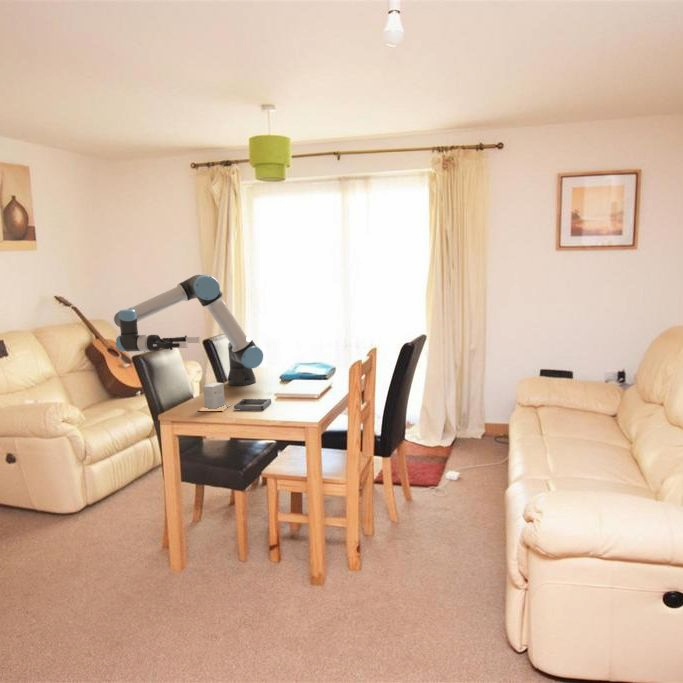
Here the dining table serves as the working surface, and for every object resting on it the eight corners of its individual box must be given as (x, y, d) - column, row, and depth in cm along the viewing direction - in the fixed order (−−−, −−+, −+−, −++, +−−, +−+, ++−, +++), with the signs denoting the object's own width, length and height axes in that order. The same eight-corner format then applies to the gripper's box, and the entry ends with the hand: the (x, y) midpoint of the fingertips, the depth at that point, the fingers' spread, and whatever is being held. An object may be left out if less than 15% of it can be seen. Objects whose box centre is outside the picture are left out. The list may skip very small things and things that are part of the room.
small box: (215, 404, 265) (214, 382, 263) (225, 405, 263) (223, 382, 261) (204, 408, 258) (202, 385, 256) (214, 409, 255) (212, 386, 254)
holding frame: (243, 403, 268) (243, 398, 267) (271, 403, 266) (271, 399, 265) (234, 410, 256) (234, 406, 255) (263, 410, 253) (263, 406, 253)
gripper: (163, 346, 278) (204, 345, 274) (136, 356, 253) (182, 355, 250) (161, 331, 276) (203, 330, 273) (135, 339, 252) (180, 338, 249)
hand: (193, 342), depth 261 cm, fingers open, 13 cm apart
